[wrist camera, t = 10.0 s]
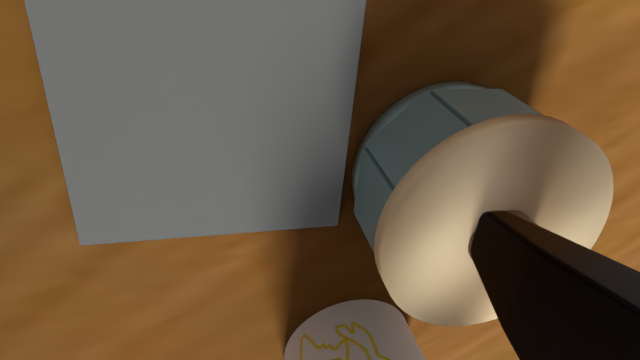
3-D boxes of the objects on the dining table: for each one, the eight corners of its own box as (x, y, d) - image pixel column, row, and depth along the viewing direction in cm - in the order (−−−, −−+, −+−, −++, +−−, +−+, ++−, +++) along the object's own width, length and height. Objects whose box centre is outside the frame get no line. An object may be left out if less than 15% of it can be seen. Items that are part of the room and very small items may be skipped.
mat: (82, 240, 21) (80, 245, 21) (16, -53, 15) (12, -52, 15) (335, 221, 24) (337, 225, 24) (366, -32, 18) (370, -30, 18)
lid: (360, 322, 21) (397, 415, 17) (394, 117, 16) (456, 187, 12) (550, 296, 23) (618, 373, 20) (633, 110, 18) (746, 167, 15)
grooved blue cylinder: (341, 243, 25) (372, 313, 21) (363, 81, 20) (408, 130, 16) (490, 230, 27) (544, 291, 23) (540, 81, 23) (618, 124, 19)
